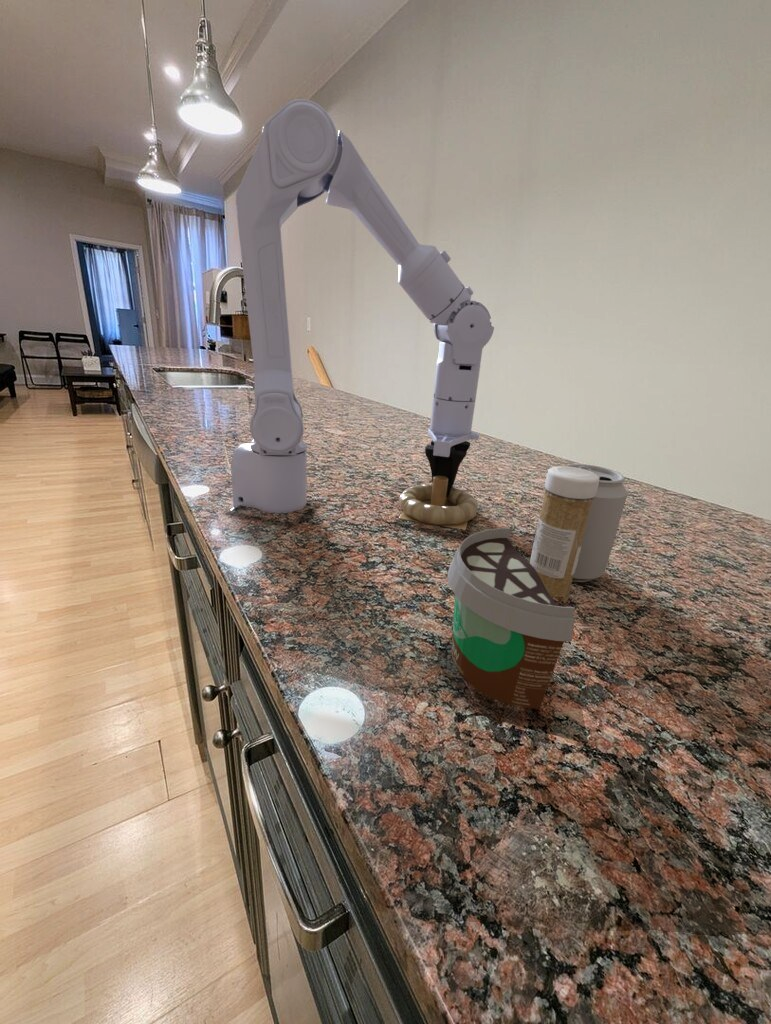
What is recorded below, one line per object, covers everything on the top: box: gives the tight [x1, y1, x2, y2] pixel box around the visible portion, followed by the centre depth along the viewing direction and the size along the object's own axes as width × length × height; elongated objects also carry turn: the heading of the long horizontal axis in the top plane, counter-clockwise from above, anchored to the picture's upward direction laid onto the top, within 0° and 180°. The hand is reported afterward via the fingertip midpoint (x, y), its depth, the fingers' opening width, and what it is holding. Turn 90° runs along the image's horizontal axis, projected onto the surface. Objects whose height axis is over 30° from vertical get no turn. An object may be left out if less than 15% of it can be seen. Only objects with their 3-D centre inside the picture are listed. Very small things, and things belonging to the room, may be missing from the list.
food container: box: [447, 527, 576, 710], centre depth 33 cm, size 12×6×10 cm, turn 5°
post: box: [398, 476, 469, 531], centre depth 62 cm, size 9×9×6 cm
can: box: [564, 463, 629, 583], centre depth 50 cm, size 8×8×12 cm
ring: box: [398, 483, 479, 526], centre depth 62 cm, size 11×11×2 cm
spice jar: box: [529, 465, 599, 605], centre depth 44 cm, size 5×5×13 cm
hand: (442, 492), depth 66 cm, fingers closed on ring, 2 cm apart
